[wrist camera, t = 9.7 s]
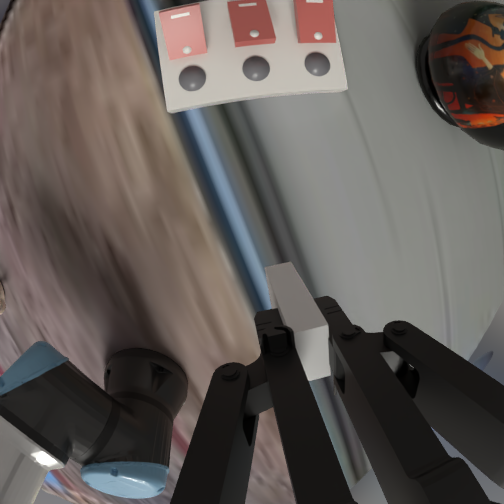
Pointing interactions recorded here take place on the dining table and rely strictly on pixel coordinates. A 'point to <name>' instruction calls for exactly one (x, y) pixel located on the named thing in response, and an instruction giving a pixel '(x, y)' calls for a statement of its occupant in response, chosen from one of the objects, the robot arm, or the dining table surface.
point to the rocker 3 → (315, 21)
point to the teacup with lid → (2, 300)
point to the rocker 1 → (183, 31)
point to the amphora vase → (467, 70)
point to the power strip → (248, 62)
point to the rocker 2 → (251, 22)
